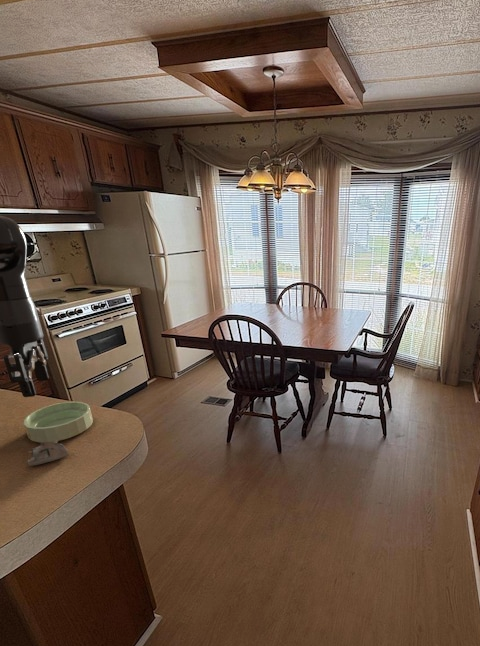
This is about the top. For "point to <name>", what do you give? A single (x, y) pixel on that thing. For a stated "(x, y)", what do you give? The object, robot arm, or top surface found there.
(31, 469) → the top surface
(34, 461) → the crumpled paper
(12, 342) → the robot arm
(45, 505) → the top surface
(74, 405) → the bowl
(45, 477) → the top surface
